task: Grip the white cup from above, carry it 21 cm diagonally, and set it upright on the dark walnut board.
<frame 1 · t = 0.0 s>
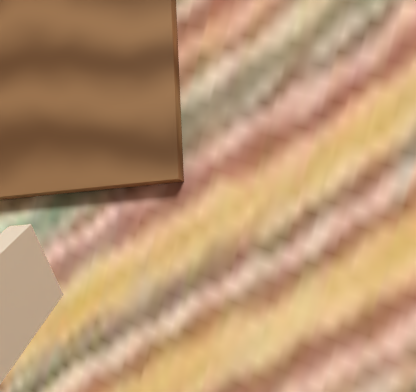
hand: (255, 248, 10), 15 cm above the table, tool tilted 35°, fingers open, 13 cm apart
walnut board: (61, 72, 31), on the table
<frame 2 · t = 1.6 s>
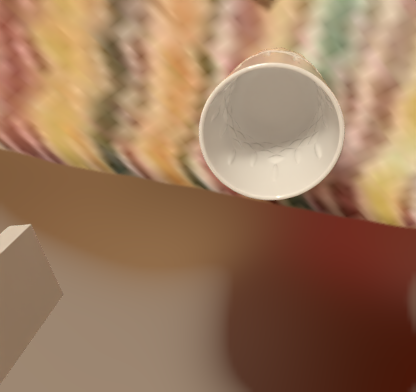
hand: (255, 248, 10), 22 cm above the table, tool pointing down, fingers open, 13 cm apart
white cup: (274, 92, 30), on the table
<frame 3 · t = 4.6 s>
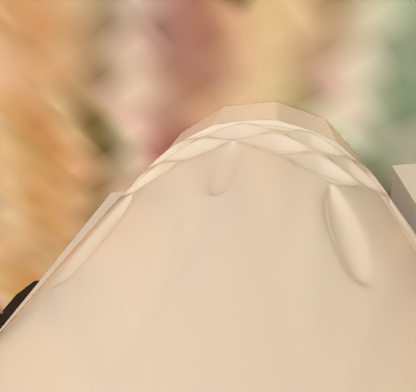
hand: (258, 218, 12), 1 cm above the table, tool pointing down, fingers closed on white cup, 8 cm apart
white cup: (258, 197, 13), on the table, touching gripper
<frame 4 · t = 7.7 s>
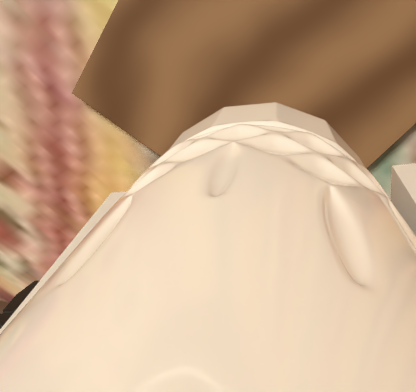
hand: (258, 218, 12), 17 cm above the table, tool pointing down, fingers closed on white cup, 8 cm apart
walnut board: (268, 61, 26), on the table
white cup: (258, 197, 13), point 16 cm above the table, touching gripper
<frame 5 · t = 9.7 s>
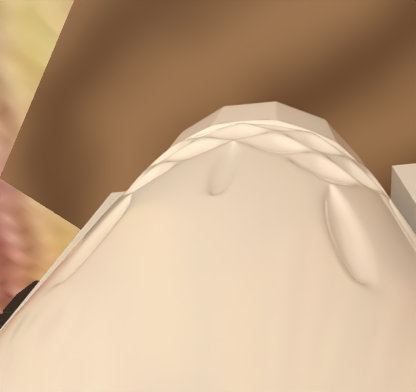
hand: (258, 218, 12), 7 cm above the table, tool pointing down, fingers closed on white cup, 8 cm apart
walnut board: (268, 138, 18), on the table
white cup: (258, 197, 13), point 6 cm above the table, touching gripper
when the fingers open (4 cm above the table, at t = 11.2 s): white cup drops 1 cm, resting on walnut board.
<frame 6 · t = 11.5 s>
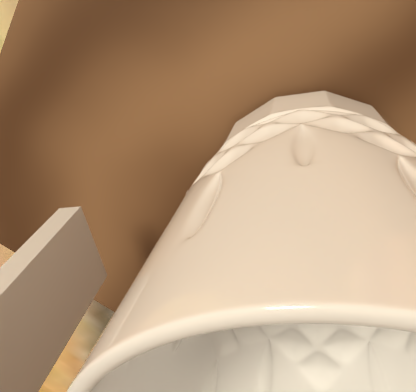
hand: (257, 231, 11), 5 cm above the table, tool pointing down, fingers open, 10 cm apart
walnut board: (261, 167, 15), on the table
white cup: (305, 181, 14), point 1 cm above the table, touching walnut board
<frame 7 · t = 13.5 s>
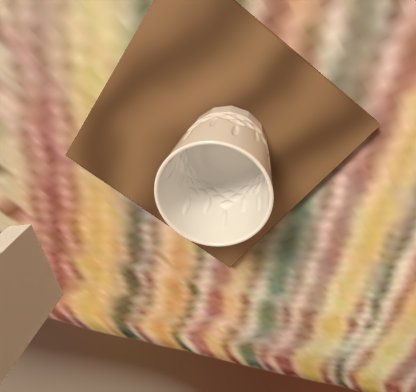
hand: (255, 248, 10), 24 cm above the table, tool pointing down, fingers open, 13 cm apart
walnut board: (211, 136, 35), on the table
white cup: (228, 141, 34), point 1 cm above the table, touching walnut board
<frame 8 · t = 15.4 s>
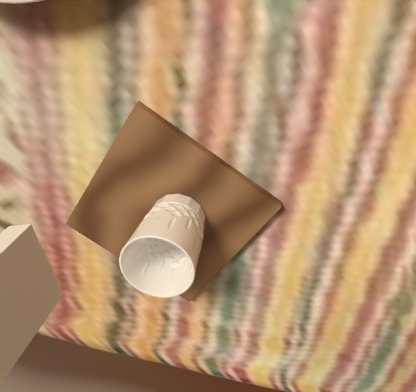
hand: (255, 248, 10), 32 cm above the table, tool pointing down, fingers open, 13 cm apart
walnut board: (168, 211, 48), on the table
white cup: (179, 216, 47), point 1 cm above the table, touching walnut board
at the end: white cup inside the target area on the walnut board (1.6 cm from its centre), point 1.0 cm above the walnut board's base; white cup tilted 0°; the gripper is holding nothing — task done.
